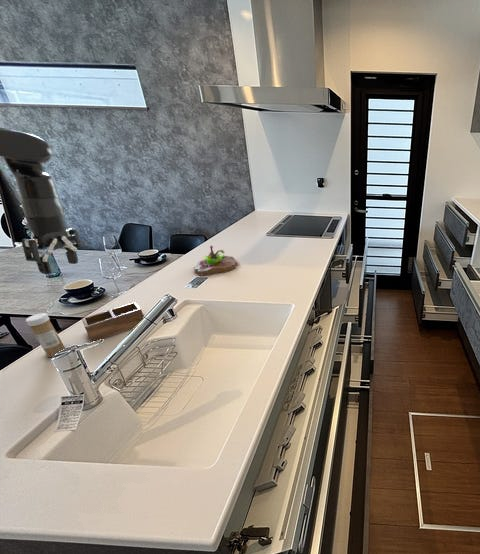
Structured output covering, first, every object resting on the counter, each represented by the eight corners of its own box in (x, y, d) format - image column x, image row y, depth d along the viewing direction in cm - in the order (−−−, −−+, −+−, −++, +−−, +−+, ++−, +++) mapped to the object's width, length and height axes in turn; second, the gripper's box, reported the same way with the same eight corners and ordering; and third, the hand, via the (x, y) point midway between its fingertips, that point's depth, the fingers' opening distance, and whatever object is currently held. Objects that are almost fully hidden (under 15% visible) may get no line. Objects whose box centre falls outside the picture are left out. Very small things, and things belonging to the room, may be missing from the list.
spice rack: (88, 333, 105) (81, 318, 103) (141, 315, 115) (135, 301, 113) (92, 342, 100) (84, 327, 98) (146, 323, 110) (141, 308, 108)
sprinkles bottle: (67, 346, 98) (48, 311, 93) (65, 353, 95) (44, 317, 89) (48, 351, 96) (27, 315, 90) (45, 359, 93) (22, 322, 87)
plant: (236, 257, 170) (232, 238, 165) (237, 270, 153) (232, 249, 149) (196, 263, 163) (191, 243, 158) (193, 277, 146) (186, 255, 142)
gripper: (54, 207, 89) (68, 259, 95) (1, 216, 76) (21, 276, 82) (81, 210, 90) (93, 261, 96) (33, 219, 77) (51, 278, 83)
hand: (60, 268), depth 89 cm, fingers open, 8 cm apart
